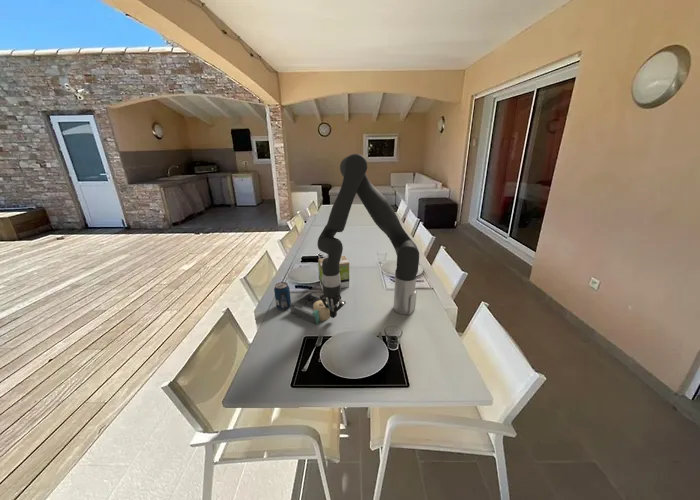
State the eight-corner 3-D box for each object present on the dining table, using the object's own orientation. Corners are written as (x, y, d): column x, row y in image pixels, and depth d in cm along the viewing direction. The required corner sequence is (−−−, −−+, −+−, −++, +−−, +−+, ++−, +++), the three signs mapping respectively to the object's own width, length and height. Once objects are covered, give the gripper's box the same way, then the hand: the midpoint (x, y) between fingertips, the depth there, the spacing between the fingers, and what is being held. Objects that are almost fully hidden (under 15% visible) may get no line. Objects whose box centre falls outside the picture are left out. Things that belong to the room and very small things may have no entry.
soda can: (285, 301, 141) (282, 280, 136) (294, 306, 137) (292, 284, 132) (273, 307, 136) (270, 285, 131) (282, 313, 132) (280, 290, 127)
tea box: (322, 291, 149) (320, 266, 143) (319, 282, 158) (317, 258, 152) (350, 287, 153) (349, 262, 147) (345, 278, 162) (344, 254, 156)
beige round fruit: (333, 314, 131) (333, 302, 128) (324, 322, 125) (323, 310, 123) (320, 309, 134) (320, 298, 132) (310, 317, 128) (309, 306, 126)
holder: (335, 309, 134) (334, 298, 131) (316, 324, 124) (315, 313, 121) (310, 299, 142) (309, 289, 140) (290, 313, 132) (289, 302, 130)
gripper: (349, 282, 118) (350, 317, 125) (324, 274, 125) (326, 307, 132) (339, 290, 112) (340, 326, 119) (313, 281, 119) (316, 316, 126)
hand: (333, 316), depth 125 cm, fingers closed
